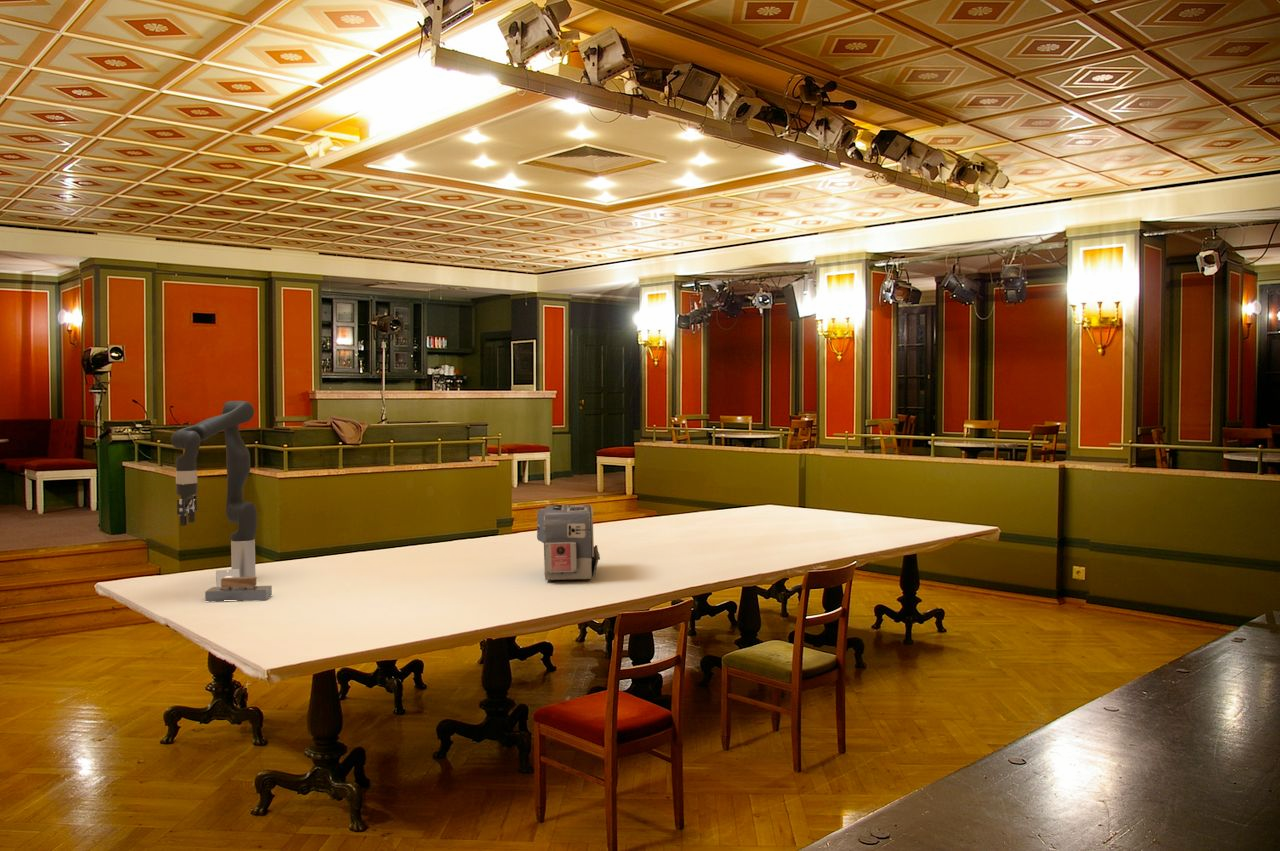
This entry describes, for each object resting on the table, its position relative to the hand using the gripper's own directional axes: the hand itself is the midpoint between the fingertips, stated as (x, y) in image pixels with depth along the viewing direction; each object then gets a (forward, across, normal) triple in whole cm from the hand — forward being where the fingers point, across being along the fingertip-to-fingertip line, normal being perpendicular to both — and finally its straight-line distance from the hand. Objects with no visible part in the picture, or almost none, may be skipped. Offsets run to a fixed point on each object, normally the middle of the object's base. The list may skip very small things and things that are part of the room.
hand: (187, 523), depth 366 cm
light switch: (+28, -6, +13) cm, 32 cm away
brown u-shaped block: (+28, +8, +21) cm, 36 cm away
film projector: (+28, -21, +147) cm, 151 cm away
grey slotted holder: (+28, +8, +21) cm, 36 cm away
